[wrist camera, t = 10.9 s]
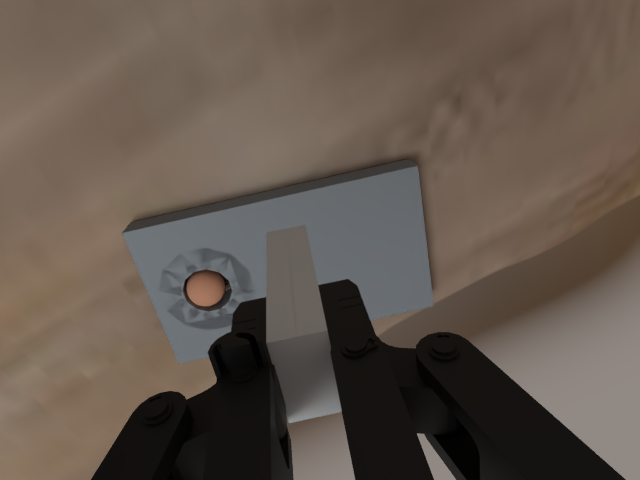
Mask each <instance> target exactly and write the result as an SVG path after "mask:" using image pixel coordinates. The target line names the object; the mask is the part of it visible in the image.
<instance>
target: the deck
mask: <svg viewBox="0 0 640 480" xmlns="http://www.w3.org/2000/svg"><path fill="white" fill-rule="evenodd" d="M301 225H306V230H307V235H308V240H309V244H310V249H311V254H312V259H313V263H314V268H315V273H316V278H317V283H318V285H321V284H326V283H330V282H335V281H340V280H345V279H349V280H350V281H352V282H353V283H354V284H356V285H357V286H358V289H359V291H360V294H361V297H362V299H363V302H364V305H365V307H366V310H367V313H368V316H369V318H370V320H374V319H378V318H383V317H387V316H392V315H396V314H400V313H405V312H409V311H414V310H418V309H422V308H427V307H431V306H434V304H433V295H432V286H431V278H430V269H429V260H428V251H427V242H426V233H425V224H424V215H423V206H422V197H421V189H420V180H419V171H418V165H416V164H415V163H414V162H413V161H412V160H410V159H406V160H402V161H397V162H393V163H389V164H384V165H380V166H375V167H371V168H367V169H362V170H358V171H353V172H349V173H345V174H340V175H336V176H331V177H327V178H323V179H318V180H314V181H309V182H305V183H301V184H296V185H292V186H287V187H283V188H279V189H274V190H270V191H265V192H261V193H257V194H252V195H248V196H243V197H239V198H235V199H230V200H226V201H221V202H217V203H213V204H208V205H204V206H199V207H195V208H191V209H186V210H182V211H177V212H173V213H169V214H164V215H160V216H155V217H151V218H147V219H142V220H138V221H134V222H131V223H130V224H129V225H128V226H127V228H126V229H125V230H124V231H123V232H122V235H123V237H124V239H125V241H126V244H127V246H128V248H129V250H130V253H131V255H132V257H133V260H134V262H135V264H136V266H137V269H138V271H139V273H140V276H141V278H142V280H143V282H144V285H145V287H146V289H147V292H148V294H149V296H150V298H151V301H152V303H153V305H154V308H155V310H156V312H157V314H158V317H159V319H160V321H161V324H162V326H163V328H164V330H165V333H166V335H167V337H168V340H169V342H170V344H171V346H172V349H173V351H174V353H175V355H176V358H177V360H178V362H179V364H181V363H185V362H190V361H194V360H198V359H203V358H207V357H209V355H208V351H209V348H210V346H211V345H212V344H213V343H214V342H215V341H216V340H217V339H218V338H219V337H221V336H223V335H225V334H226V333H229V332H231V327H232V318H233V312H234V311H235V310H236V308H237V307H238V305H239V304H240V303H241V302H245V301H249V300H254V299H259V298H264V297H266V233H267V232H271V231H276V230H281V229H286V228H291V227H296V226H301ZM205 269H207V270H211V271H216V272H219V273H220V274H222V275H223V276H224V277H225V278H226V279H228V280H229V283H230V286H231V289H230V290H228V291H227V292H226V293H225V294H224V295H223V297H222V298H221V299H220V301H218V302H217V303H216V304H214V305H211V306H199V305H197V304H195V303H194V302H192V301H191V299H190V298H189V296H188V294H187V282H188V277H189V276H190V275H191V274H192V273H193V272H197V271H201V270H205Z"/></svg>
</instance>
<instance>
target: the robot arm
mask: <svg viewBox="0 0 640 480" xmlns="http://www.w3.org/2000/svg"><path fill="white" fill-rule="evenodd" d="M208 355H209V358H210V361H211V363H212V366H213V369H214V372H215V374H216V377H217V382H216V384H215V385H213V386H212V387H211V388H209V389H208V390H206V391H204V392H202V393H200V394H198V395H196V396H194V397H191V398H189V399H187V400H186V399H185V396H183V395H182V394H180V393H179V392H173V391H168V392H162V393H159V394H156V395H154V396H152V397H150V398H148V399H147V400H146V401H144V402H143V403H141V404H140V405H139V406H138V407H137V409H136V410H135V411H134V412H133V413H132V415H131V416H130V418H129V420H128V421H127V423H126V424H125V426H124V428H123V429H122V431H121V432H120V434H119V436H118V437H117V439H116V440H115V442H114V444H113V445H112V447H111V448H110V450H109V452H108V453H107V455H106V456H105V458H104V460H103V461H102V463H101V464H100V466H99V468H98V469H97V471H96V472H95V474H94V476H93V477H92V479H91V480H293V466H292V450H291V439H290V436H289V432H288V429H287V420H286V419H287V418H288V421H289V423H292V422H297V421H301V420H306V419H311V418H315V417H319V416H324V415H328V414H334V413H338V412H342V414H343V419H344V425H345V429H346V434H347V439H348V445H349V450H350V455H351V460H352V465H353V469H354V475H355V480H434V479H433V476H432V473H431V471H430V468H429V465H428V463H427V460H426V457H425V455H424V452H423V449H422V447H421V444H420V441H419V439H418V436H417V433H423V434H425V436H426V438H427V440H428V441H429V442H430V444H431V445H432V447H433V448H434V449H435V451H436V452H437V454H438V455H439V456H440V458H441V459H442V460H443V462H444V463H445V464H446V466H447V467H448V469H449V470H450V471H451V473H452V474H453V475H454V477H455V478H456V480H625V479H624V478H623V477H622V476H621V475H620V474H619V473H617V472H616V471H615V470H614V469H613V468H612V467H611V466H610V465H608V464H607V463H606V462H605V461H604V460H603V459H602V458H600V457H599V456H598V455H597V454H596V453H595V452H594V451H593V450H591V449H590V448H589V447H588V446H587V445H586V444H585V443H583V442H582V441H581V440H580V439H579V438H578V437H577V436H575V435H574V434H573V433H572V432H571V431H570V430H569V429H568V428H567V427H565V426H564V425H563V424H562V423H561V422H560V421H558V420H557V419H556V418H555V417H554V416H553V415H552V414H551V413H550V412H548V411H547V410H546V409H545V408H544V407H543V406H542V405H540V404H539V403H538V402H537V401H536V400H535V399H534V398H532V397H531V396H530V395H529V394H528V393H527V392H526V391H524V390H523V389H522V388H521V387H520V386H519V385H518V384H517V383H516V382H514V381H513V380H512V379H511V378H510V377H509V376H508V375H506V374H505V373H504V372H503V371H502V370H501V369H500V368H499V367H497V366H496V365H495V364H494V363H493V362H492V361H491V360H490V359H488V358H487V357H486V356H485V355H484V354H483V353H482V352H481V351H479V350H478V349H477V348H476V347H475V346H474V345H472V344H471V343H470V342H469V341H468V340H466V339H465V338H463V337H461V336H460V335H457V334H453V333H449V332H438V333H434V334H429V335H427V336H426V337H424V338H422V339H421V340H420V341H419V343H418V344H417V345H416V349H413V348H397V347H393V346H389V345H387V344H385V343H383V342H382V341H381V340H380V339H379V338H378V337H377V336H376V334H375V332H374V329H373V326H372V324H371V321H370V318H369V316H368V313H367V310H366V307H365V305H364V302H363V299H362V297H361V294H360V291H359V289H358V286H357V285H356V284H354V283H353V282H352V281H350V280H349V279H345V280H340V281H335V282H330V283H326V284H321V285H318V283H317V278H316V273H315V268H314V263H313V259H312V254H311V249H310V244H309V240H308V235H307V230H306V225H301V226H296V227H291V228H286V229H281V230H276V231H271V232H267V233H266V297H264V298H259V299H254V300H249V301H245V302H241V303H240V304H239V305H238V307H237V308H236V310H235V311H234V312H233V318H232V327H231V332H229V333H226V334H225V335H223V336H221V337H219V338H218V339H217V340H216V341H215V342H214V343H213V344H212V345H211V346H210V348H209V351H208ZM286 414H287V418H286Z"/></svg>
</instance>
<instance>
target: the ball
mask: <svg viewBox="0 0 640 480" xmlns="http://www.w3.org/2000/svg"><path fill="white" fill-rule="evenodd" d="M224 292H225V282H224V279H223V278H222V276H221V275H220V274H219V273H218V272H216V271H211V270H207V269H205V270H201V271H197V272H195V273H193V274H192V275H191V277H190V278H189V280H188V282H187V294H188V296H189V298H190V299H191V301H192V302H194V303H195V304H197V305H199V306H211V305H214V304H216V303H217V302H218V301H220V299H221V298H222V297H223V295H224Z"/></svg>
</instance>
